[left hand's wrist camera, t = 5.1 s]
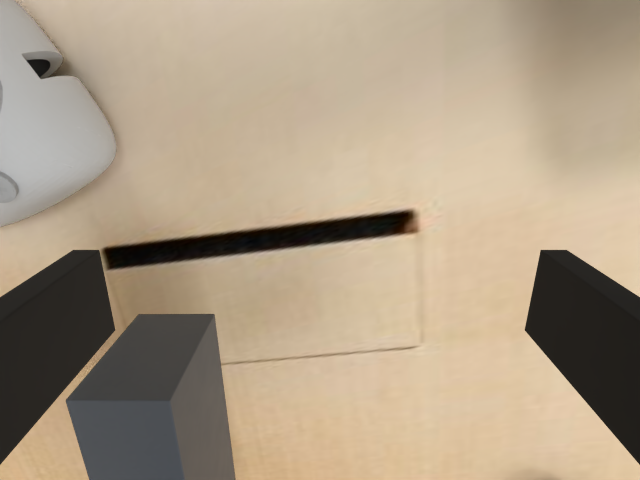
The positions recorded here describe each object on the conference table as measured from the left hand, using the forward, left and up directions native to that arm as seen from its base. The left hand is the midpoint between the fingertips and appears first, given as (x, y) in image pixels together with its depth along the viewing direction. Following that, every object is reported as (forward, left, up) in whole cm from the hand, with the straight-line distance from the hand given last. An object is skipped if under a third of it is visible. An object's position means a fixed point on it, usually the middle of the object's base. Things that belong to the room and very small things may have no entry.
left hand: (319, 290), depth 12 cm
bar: (+24, +1, -16) cm, 29 cm away
